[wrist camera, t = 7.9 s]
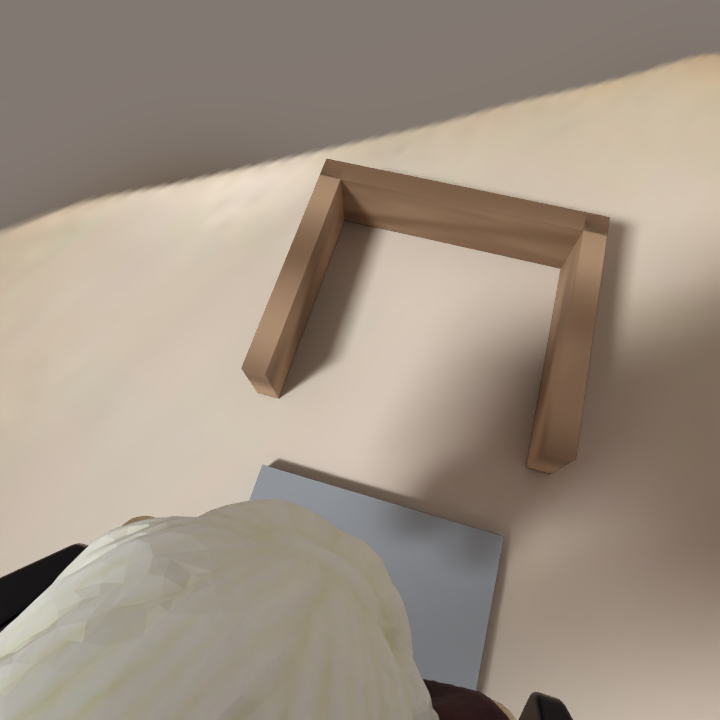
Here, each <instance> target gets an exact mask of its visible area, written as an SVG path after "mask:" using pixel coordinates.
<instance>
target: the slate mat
mask: <svg viewBox="0 0 720 720" xmlns="http://www.w3.org/2000/svg"><path fill="white" fill-rule="evenodd" d="M259 499H282V500H286V501H289V502H292V503H295V504H298V505H300V506H303V507H305V508H307V509H309V510H311V511H313V512H315V513H317V514H318V515H320V516H321V517H322V518H324V519H325V520H327V521H328V522H329V523H331V524H332V525H333V526H335V527H336V528H338V529H340V530H342V531H344V532H346V533H348V534H350V535H353V536H355V537H357V538H359V539H361V540H363V541H364V542H366V543H367V544H368V545H369V546H370V547H371V548H372V549H373V550H374V551H375V552H376V553H377V555H378V556H379V557H380V558H381V559H382V560H383V562H384V564H385V567H386V569H387V572H388V574H389V576H390V579H391V581H392V583H393V585H394V586H395V588H396V589H397V591H398V592H399V594H400V596H401V599H402V601H403V603H404V606H405V610H406V613H407V617H408V621H409V624H410V630H411V641H412V648H413V659H414V662H415V664H416V666H417V668H418V671H419V673H420V675H421V678H422V679H426V680H430V681H431V680H434V681H437V682H440V683H446V684H452V685H454V686H458V687H464V688H467V689H470V690H475V691H476V688H477V682H478V677H479V671H480V666H481V660H482V655H483V649H484V644H485V638H486V633H487V627H488V622H489V616H490V611H491V605H492V600H493V594H494V589H495V583H496V578H497V572H498V567H499V561H500V556H501V550H502V545H503V539H504V536H501V535H497V534H494V533H491V532H487V531H484V530H480V529H477V528H474V527H470V526H467V525H464V524H460V523H457V522H454V521H450V520H447V519H443V518H440V517H437V516H433V515H430V514H427V513H423V512H420V511H416V510H413V509H410V508H406V507H403V506H400V505H396V504H393V503H390V502H386V501H383V500H379V499H376V498H373V497H369V496H366V495H363V494H359V493H356V492H353V491H349V490H346V489H342V488H339V487H336V486H332V485H329V484H326V483H322V482H319V481H315V480H312V479H309V478H305V477H302V476H299V475H295V474H292V473H289V472H285V471H282V470H278V469H275V468H272V467H268V466H265V465H262V467H261V470H260V473H259V476H258V478H257V481H256V484H255V487H254V489H253V492H252V495H251V498H250V500H249V501H252V500H259Z"/></svg>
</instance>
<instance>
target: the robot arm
mask: <svg viewBox="0 0 720 720" xmlns="http://www.w3.org/2000/svg"><path fill="white" fill-rule="evenodd" d="M87 547H88V545H85V544H81V543H78V544H74V545H71V546H69V547H67V548H64V549H62V550H60V551H58V552H56V553H53V554H51V555H49V556H47V557H45V558H43V559H40V560H38V561H36V562H34V563H32V564H29V565H27V566H25V567H23V568H21V569H19V570H16V571H14V572H12V573H10V574H8V575H5V576H3V577H1V578H0V632H1V631H2V630H4V629H5V628H6V627H7V626H8V625H9V624H10V623H11V622H12V621H13V620H15V619H16V618H17V617H18V616H19V615H20V614H21V613H22V612H23V611H24V610H25V609H26V608H27V607H28V606H29V605H30V604H31V603H33V602H34V601H35V600H36V599H37V598H38V597H39V596H40V595H41V594H42V593H43V592H44V591H45V590H46V589H47V588H48V587H50V586H51V585H52V584H53V582H54V581H55V580H56V579H57V577H58V576H59V575H60V574H61V573H62V572H63V571H64V570H65V568H66V567H67V566H69V565H70V564H71V563H72V562H73V561H74V560H75V559H76V558H77V557H78V556H79V555H80V554H81V553H82V552H83V551H84V550H85V549H86V548H87ZM519 720H573V719H572V717H571V715H570V713H569V712H568V710H567V708H566V706H565V705H564V704H563V702H562V701H560V700H559V699H557V698H554V697H551V696H548V695H545V694H542V693H539V692H534V693H532V694H531V695H530V697H529V699H528V701H527V703H526V705H525V707H524V709H523V712H522V714H521V716H520V718H519Z"/></svg>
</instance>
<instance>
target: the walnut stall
mask: <svg viewBox="0 0 720 720" xmlns="http://www.w3.org/2000/svg"><path fill="white" fill-rule="evenodd" d="M609 219H610V217H606V216H601V215H596V214H591V213H586V212H582V211H577V210H572V209H567V208H562V207H558V206H553V205H548V204H543V203H538V202H533V201H529V200H524V199H519V198H514V197H509V196H504V195H500V194H495V193H490V192H485V191H480V190H475V189H471V188H466V187H461V186H456V185H451V184H446V183H442V182H437V181H432V180H427V179H422V178H418V177H413V176H408V175H403V174H398V173H393V172H389V171H384V170H379V169H374V168H369V167H364V166H360V165H355V164H350V163H345V162H340V161H335V160H331V159H326V161H325V164H324V166H323V169H322V171H321V174H320V176H319V179H318V181H317V183H316V186H315V188H314V191H313V193H312V196H311V198H310V201H309V203H308V206H307V208H306V211H305V213H304V215H303V218H302V220H301V223H300V225H299V228H298V230H297V233H296V235H295V238H294V240H293V243H292V245H291V247H290V250H289V252H288V255H287V257H286V260H285V262H284V265H283V267H282V270H281V272H280V275H279V277H278V279H277V282H276V284H275V287H274V289H273V292H272V294H271V297H270V299H269V302H268V304H267V306H266V309H265V311H264V314H263V316H262V319H261V321H260V324H259V326H258V329H257V331H256V334H255V336H254V338H253V341H252V343H251V346H250V348H249V351H248V353H247V356H246V358H245V361H244V363H243V366H242V370H243V371H244V373H245V374H246V376H247V377H248V379H249V380H250V382H251V383H252V385H253V386H254V388H255V389H256V391H257V392H258V393H261V394H264V395H268V396H271V397H275V398H279V396H280V393H281V391H282V388H283V385H284V383H285V380H286V377H287V375H288V372H289V369H290V366H291V364H292V361H293V358H294V356H295V353H296V350H297V347H298V345H299V342H300V339H301V337H302V334H303V331H304V328H305V326H306V323H307V320H308V318H309V315H310V312H311V310H312V307H313V304H314V301H315V299H316V296H317V293H318V291H319V288H320V285H321V282H322V280H323V277H324V274H325V272H326V269H327V266H328V263H329V261H330V258H331V255H332V253H333V250H334V247H335V244H336V242H337V239H338V236H339V234H340V231H341V228H342V226H343V223H344V220H346V221H350V222H355V223H359V224H364V225H368V226H373V227H377V228H381V229H386V230H390V231H395V232H399V233H404V234H408V235H413V236H417V237H422V238H426V239H431V240H435V241H440V242H444V243H449V244H453V245H458V246H462V247H467V248H471V249H476V250H480V251H485V252H489V253H494V254H498V255H503V256H507V257H511V258H516V259H520V260H525V261H529V262H534V263H538V264H543V265H547V266H552V267H556V268H561V270H560V276H559V281H558V287H557V293H556V299H555V304H554V310H553V316H552V322H551V327H550V333H549V339H548V344H547V350H546V356H545V362H544V367H543V373H542V379H541V385H540V390H539V396H538V402H537V408H536V413H535V419H534V425H533V431H532V436H531V442H530V448H529V453H528V459H527V465H526V467H528V468H531V469H535V470H538V471H542V472H546V473H549V474H551V473H553V472H554V471H556V470H558V469H560V468H561V467H563V466H565V465H566V464H568V463H570V462H572V461H573V460H575V459H576V455H577V448H578V441H579V433H580V426H581V419H582V412H583V405H584V398H585V390H586V383H587V376H588V369H589V362H590V355H591V347H592V340H593V333H594V326H595V319H596V312H597V304H598V297H599V290H600V283H601V276H602V269H603V261H604V254H605V247H606V240H607V233H608V226H609Z"/></svg>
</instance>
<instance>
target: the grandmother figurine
mask: <svg viewBox="0 0 720 720" xmlns="http://www.w3.org/2000/svg"><path fill="white" fill-rule="evenodd" d="M0 720H516V719H515V717H514V716H513V714H512V713H511V712H510V711H509V710H508V709H507V708H506V707H504V706H503V705H502V704H500V703H498V702H496V701H493V700H491V699H490V698H489V697H487V696H486V695H484V694H482V693H481V692H479V691H475V690H470V689H467V688H464V687H458V686H454V685H452V684H446V683H440V682H437V681H434V680H431V681H430V680H426V679H422V678H421V675H420V673H419V671H418V668H417V666H416V664H415V662H414V659H413V648H412V641H411V630H410V624H409V621H408V617H407V613H406V610H405V606H404V603H403V601H402V599H401V596H400V594H399V592H398V591H397V589H396V588H395V586H394V585H393V583H392V581H391V579H390V576H389V574H388V572H387V569H386V567H385V564H384V562H383V560H382V559H381V558H380V557H379V556H378V555H377V553H376V552H375V551H374V550H373V549H372V548H371V547H370V546H369V545H368V544H367V543H366V542H364V541H363V540H361V539H359V538H357V537H355V536H353V535H350V534H348V533H346V532H344V531H342V530H340V529H338V528H336V527H335V526H333V525H332V524H331V523H329V522H328V521H327V520H325V519H324V518H322V517H321V516H320V515H318V514H317V513H315V512H313V511H311V510H309V509H307V508H305V507H303V506H300V505H298V504H295V503H292V502H289V501H286V500H282V499H259V500H252V501H245V502H240V503H236V504H231V505H226V506H223V507H220V508H217V509H214V510H211V511H209V512H207V513H205V514H203V515H201V516H199V517H177V516H171V517H165V518H155V517H151V516H141V517H136V518H133V519H131V520H129V521H128V522H126V523H125V524H124V525H122V526H121V527H118V528H115V529H112V530H111V531H109V532H108V533H106V534H104V535H103V536H101V537H100V538H98V539H97V540H95V541H94V542H93V543H92V544H90V545H89V546H88V547H87V548H86V549H85V550H84V551H83V552H82V553H81V554H80V555H79V556H78V557H77V558H76V559H75V560H74V561H73V562H72V563H71V564H70V565H69V566H67V567H66V568H65V570H64V571H63V572H62V573H61V574H60V575H59V576H58V577H57V579H56V580H55V581H54V582H53V584H52V585H51V586H50V587H48V588H47V589H46V590H45V591H44V592H43V593H42V594H41V595H40V596H39V597H38V598H37V599H36V600H35V601H34V602H33V603H31V604H30V605H29V606H28V607H27V608H26V609H25V610H24V611H23V612H22V613H21V614H20V615H19V616H18V617H17V618H16V619H15V620H13V621H12V622H11V623H10V624H9V625H8V626H7V627H6V628H5V629H4V630H2V631H1V632H0Z"/></svg>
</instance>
